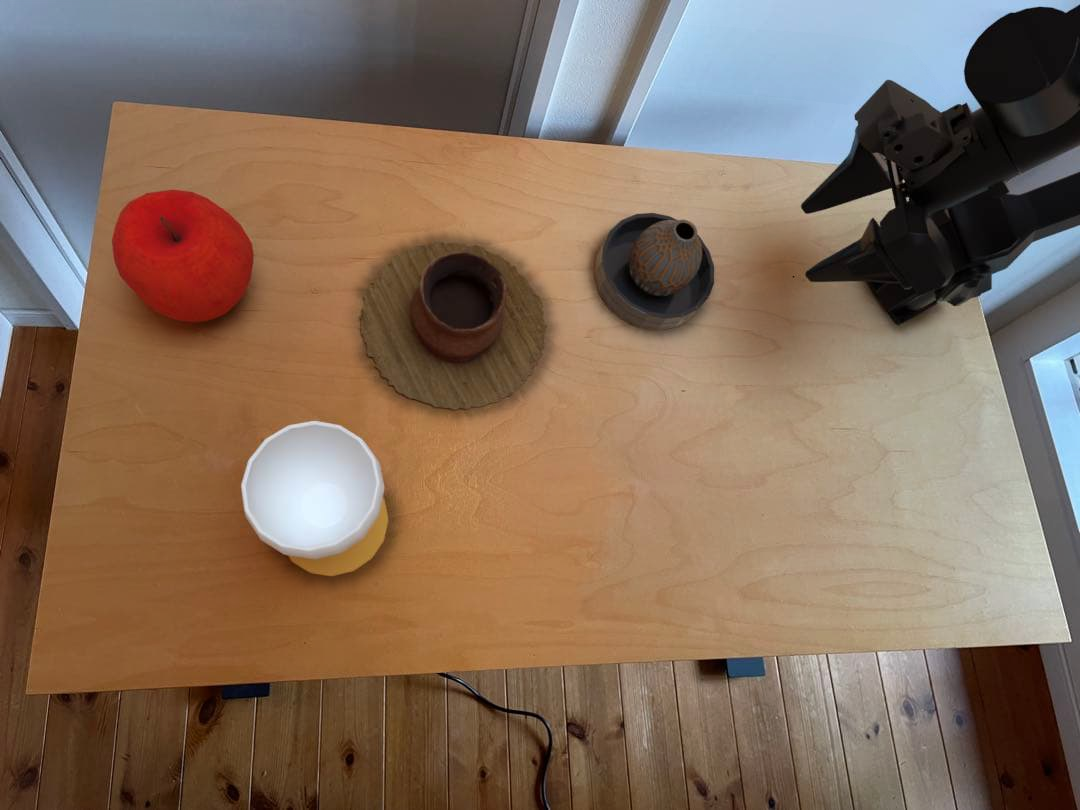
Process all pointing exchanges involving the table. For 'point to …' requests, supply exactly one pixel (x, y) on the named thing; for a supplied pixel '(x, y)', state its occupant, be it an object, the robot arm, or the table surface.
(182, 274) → the apple
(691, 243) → the vase
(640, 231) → the pan
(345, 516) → the cup
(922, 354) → the table surface
